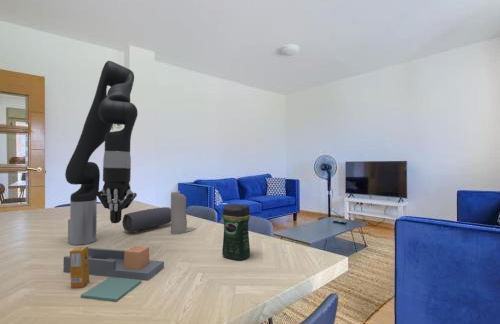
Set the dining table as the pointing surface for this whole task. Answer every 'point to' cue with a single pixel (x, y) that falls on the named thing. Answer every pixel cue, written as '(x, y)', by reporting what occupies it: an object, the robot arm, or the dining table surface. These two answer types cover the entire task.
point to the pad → (111, 289)
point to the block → (136, 257)
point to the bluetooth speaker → (146, 219)
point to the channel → (115, 265)
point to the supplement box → (79, 267)
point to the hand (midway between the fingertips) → (115, 222)
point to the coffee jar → (236, 231)
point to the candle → (179, 214)
